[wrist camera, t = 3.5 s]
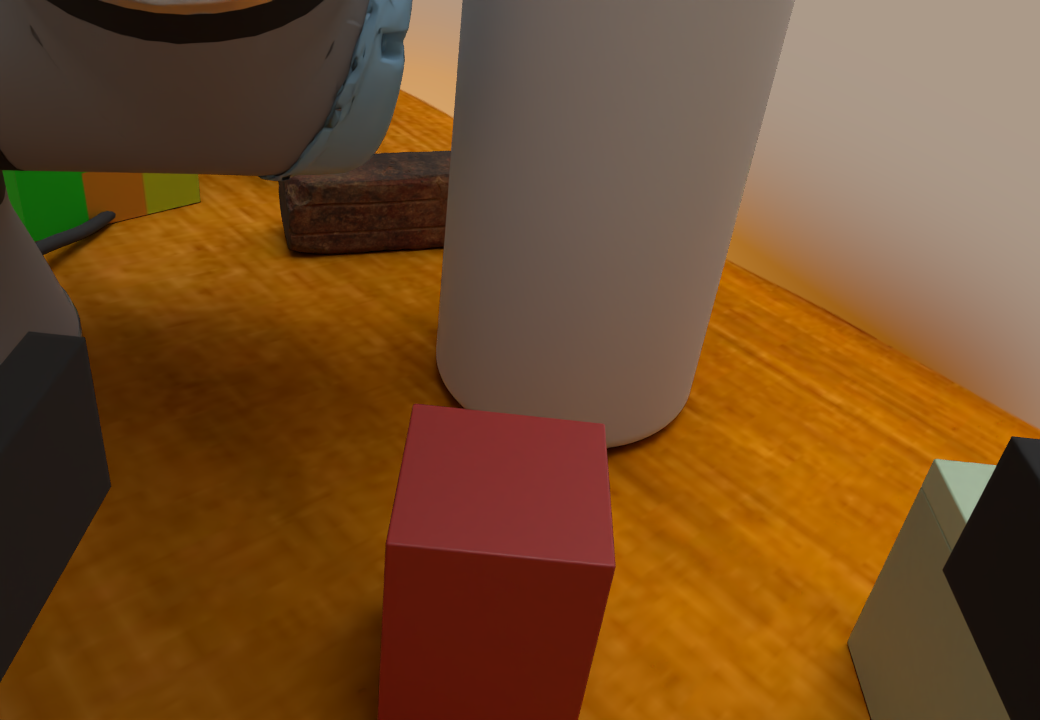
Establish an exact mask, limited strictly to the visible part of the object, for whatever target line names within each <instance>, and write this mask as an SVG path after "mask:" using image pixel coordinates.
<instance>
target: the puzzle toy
mask: <svg viewBox="0 0 1040 720" xmlns="http://www.w3.org/2000/svg"><path fill="white" fill-rule="evenodd" d="M2 171H3V176H4V180H5V185H6V189H7V193H8V197H9V200H10V203H11V205H12V207H13V209H14V210H15V212H16V213H17V215H18V216H19V218H20V220H21V221H22V223H23V224H24V226H25V227H26V229H27V231H28V232H29V234H30V235H31V237H32V238H33V240H34V242H35V241H39V240H42V239H45V238H47V237H49V236H52V235H55V234H57V233H60V232H63V231H66V230H69V229H72V228H74V227H77V226H79V225H81V224H83V223H85V222H87V221H89V220H90V219H92V218H93V217H95V216H97V215H98V214H99V213H101V212H105V211H113V212H114V213H115V214H116V216H115V218H114V219H113V220H112V221H111V222H109V223H108V224H110V223H114V222H118V221H122V220H126V219H131V218H135V217H139V216H143V215H147V214H151V213H156V212H160V211H164V210H168V209H172V208H176V207H181V206H185V205H189V204H193V203H197V202H200V191H199V179H198V174H170V173H119V172H68V171H10V170H2Z"/></svg>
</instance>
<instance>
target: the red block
mask: <svg viewBox="0 0 1040 720" xmlns="http://www.w3.org/2000/svg"><path fill="white" fill-rule="evenodd" d="M614 571H615V553H614V540H613V526H612V513H611V499H610V485H609V472H608V458H607V445H606V431H605V424H602V423H592V422H583V421H574V420H564V419H555V418H546V417H536V416H527V415H517V414H508V413H499V412H489V411H480V410H471V409H461V408H452V407H442V406H433V405H424V404H414V405H413V407H412V412H411V418H410V423H409V428H408V433H407V438H406V443H405V448H404V453H403V458H402V463H401V468H400V473H399V479H398V484H397V489H396V494H395V499H394V504H393V509H392V514H391V519H390V524H389V529H388V535H387V540H386V548H385V569H384V591H383V612H382V634H381V655H380V677H379V698H378V719H377V720H578V717H579V713H580V709H581V705H582V701H583V697H584V693H585V689H586V685H587V681H588V677H589V673H590V668H591V664H592V660H593V656H594V652H595V648H596V644H597V640H598V636H599V632H600V628H601V624H602V620H603V616H604V612H605V607H606V603H607V599H608V595H609V591H610V587H611V583H612V579H613V575H614Z"/></svg>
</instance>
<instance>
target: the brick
mask: <svg viewBox="0 0 1040 720" xmlns="http://www.w3.org/2000/svg"><path fill="white" fill-rule="evenodd" d="M450 161H451V151H433V152H400V153H380V154H374V155H373V156H372V157H371V158H370V159H369V160H368V161H367V162H366V163H364V164H363V165H362V166H360V167H358V168H356V169H355V170H352V171H349V172H346V173H341V174H325V175H296V176H295V177H294V176H293V177H291V178H290V179H288V180H283V181H278V182H279V199H280V209H281V216H282V222H283V226H284V231H285V235H286V239H287V245H288V248H289V249H291V250H295V251H298V252H306V253H317V254H336V253H358V252H369V251H381V250H385V249H386V250H401V249H423V248H430V247H431V248H435V247H444V240H445V227H446V214H447V201H448V188H449V174H450Z"/></svg>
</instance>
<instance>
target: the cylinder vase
mask: <svg viewBox="0 0 1040 720" xmlns="http://www.w3.org/2000/svg"><path fill="white" fill-rule="evenodd" d="M794 2H795V0H463V3H462V17H461V29H460V42H459V55H458V69H457V82H456V96H455V108H454V121H453V135H452V148H451V161H450V174H449V188H448V201H447V214H446V227H445V240H444V254H443V267H442V280H441V293H440V306H439V320H438V333H437V346H436V359H437V366H438V369H439V373H440V375H441V378H442V380H443V382H444V384H445V386H446V387H447V389H448V390H449V392H450V393H451V394H452V396H453V397H454V398H455V399H456V400H457V401H458V402H459V403H460V404H461V405H462V406H463V407H464V408H465V409H471V410H480V411H489V412H499V413H508V414H517V415H527V416H536V417H546V418H555V419H564V420H574V421H583V422H592V423H602V424H605V431H606V445H607V448H610V447H616V446H621V445H626V444H629V443H633V442H636V441H639V440H641V439H644V438H646V437H649V436H651V435H653V434H654V433H656V432H658V431H660V430H661V429H663V428H664V427H665V426H667V425H668V424H669V423H670V422H671V421H672V420H673V419H674V418H675V417H676V416H677V415H678V414H679V413H680V411H681V410H682V408H683V407H684V405H685V403H686V401H687V399H688V396H689V393H690V390H691V386H692V382H693V379H694V375H695V371H696V367H697V364H698V360H699V356H700V352H701V349H702V345H703V341H704V337H705V334H706V330H707V326H708V323H709V319H710V315H711V311H712V308H713V304H714V300H715V296H716V293H717V289H718V285H719V281H720V278H721V274H722V270H723V267H724V263H725V259H726V255H727V252H728V248H729V244H730V240H731V237H732V233H733V229H734V225H735V222H736V218H737V214H738V210H739V207H740V203H741V199H742V196H743V192H744V188H745V184H746V181H747V177H748V173H749V169H750V166H751V162H752V158H753V155H754V151H755V147H756V143H757V140H758V136H759V132H760V128H761V125H762V121H763V117H764V113H765V110H766V106H767V102H768V99H769V95H770V91H771V87H772V83H773V79H774V76H775V72H776V69H777V65H778V61H779V57H780V54H781V50H782V46H783V43H784V39H785V35H786V31H787V28H788V24H789V20H790V16H791V13H792V9H793V5H794Z"/></svg>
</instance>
